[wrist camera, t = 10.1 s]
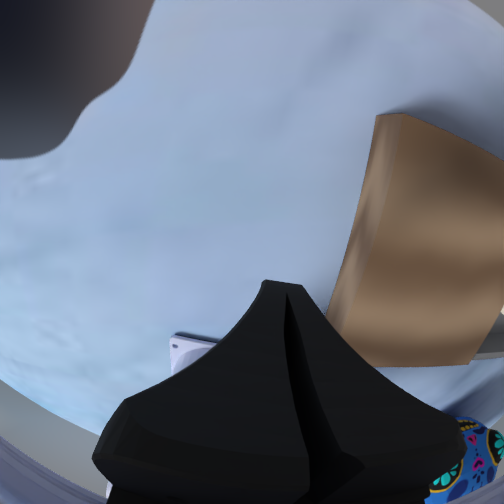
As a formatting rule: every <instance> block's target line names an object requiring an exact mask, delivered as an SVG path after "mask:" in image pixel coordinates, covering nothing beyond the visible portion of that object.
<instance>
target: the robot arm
mask: <svg viewBox="0 0 504 504" xmlns="http://www.w3.org/2000/svg"><path fill="white" fill-rule="evenodd" d="M175 344H176V345H175ZM170 356H171V369H172V374H171V377H169V378H168V379H166V380H164V381H162V382H161V383H159V384H157V385H154V386H152V387H150V388H148V389H146V390H144V391H142V392H140V393H137V394H135V395H133V396H131V397H128V398H126V399H124V400H123V402H122V403H121V404H120V406H119V407H118V408H117V410H116V411H115V412H114V414H113V415H112V417H111V418H110V420H109V421H108V423H107V424H106V426H105V428H104V430H103V432H102V434H101V436H100V438H99V441H98V443H97V445H96V448H95V450H94V452H93V455H92V460H93V462H94V464H95V466H96V467H97V469H98V470H99V471H100V472H101V473H102V474H103V475H104V476H105V477H106V479H108V485H107V492H106V498H105V497H103V496H100V495H98V494H96V493H94V492H92V491H89V490H87V489H85V488H83V487H81V486H79V485H77V484H75V483H73V482H71V481H69V480H67V479H65V478H64V477H62V476H60V475H58V474H57V473H55V472H53V471H51V470H49V469H48V468H46V467H44V466H43V465H41V464H40V463H38V462H36V461H35V460H34V459H32V458H31V457H29V456H28V455H26V454H25V453H23V452H22V451H20V450H19V449H17V448H16V447H15V446H13V445H12V444H11V443H9V442H8V441H7V440H6V439H4V438H3V437H2V436H0V504H425V500H424V499H426V498H428V497H430V494H431V493H430V488H429V484H431V483H432V482H434V481H435V480H437V479H438V478H440V477H441V476H442V475H444V474H445V473H447V472H448V471H449V470H451V469H452V468H453V467H454V466H456V465H457V464H458V463H459V462H460V461H461V460H462V459H463V458H464V456H465V454H466V452H467V449H468V447H467V445H466V442H465V439H464V437H463V434H462V431H461V429H460V426H459V424H458V421H457V419H456V418H454V417H452V416H450V415H448V414H446V413H444V412H442V411H439V410H437V409H435V408H433V407H431V406H429V405H427V404H426V403H424V402H422V401H420V400H419V399H417V398H415V397H414V396H412V395H411V394H409V393H407V392H406V391H404V390H403V389H401V388H400V387H398V386H397V385H395V384H394V383H393V382H391V381H390V380H389V379H387V378H386V377H385V376H383V375H382V374H381V373H380V372H378V371H377V370H376V369H375V368H373V367H372V366H371V365H370V364H369V363H368V362H366V361H365V360H364V359H363V358H362V357H361V356H360V355H359V354H358V353H357V352H356V351H355V350H354V349H353V348H352V347H351V346H350V345H349V344H348V343H347V342H346V341H345V340H344V339H343V338H342V337H341V335H340V334H339V333H338V332H337V331H336V330H335V329H334V327H333V326H332V325H331V324H330V323H329V321H328V320H327V319H326V317H325V316H324V315H323V314H322V312H321V311H320V310H319V308H318V307H317V305H316V304H315V303H314V301H313V300H312V298H311V297H310V296H309V294H308V293H307V291H306V290H305V288H304V287H303V286H302V285H299V284H292V283H285V282H279V281H272V280H264V281H263V282H262V284H261V288H260V290H259V293H258V294H257V296H256V298H255V300H254V301H253V303H252V304H251V306H250V307H249V309H248V310H247V312H246V313H245V314H244V315H243V317H242V318H241V319H240V320H239V321H238V323H237V324H236V325H235V326H234V327H233V328H232V329H231V331H230V332H229V333H228V334H227V335H226V336H225V337H224V338H223V339H221V340H220V341H219V342H218V343H212V342H206V341H201V340H196V339H191V338H186V337H182V336H177V335H172V336H171V338H170ZM445 504H504V475H503V476H501V477H500V478H498V479H496V480H494V481H493V482H491V483H489V484H487V485H485V486H483V487H481V488H479V489H477V490H475V491H473V492H471V493H469V494H467V495H464V496H462V497H460V498H457V499H455V500H453V501H450V502H448V503H445Z"/></svg>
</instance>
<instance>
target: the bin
mask: <svg viewBox="0 0 504 504" xmlns="http://www.w3.org/2000/svg"><path fill="white" fill-rule="evenodd" d="M501 357H504V315H503V314H502V313H501V312H500V313H499V315H498V317H497V319H496V321H495V323H494V324H493V326H492V328H491V330H490V331H489V333H488V335H487V336H486V338H485V340H484V341H483V343H482V345H481V346H480V348H479V349H478V351H477V352H476V354H475V355H474V357H473V358H472V360H481V359H492V358H501Z"/></svg>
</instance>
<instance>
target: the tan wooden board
mask: <svg viewBox="0 0 504 504" xmlns="http://www.w3.org/2000/svg"><path fill="white" fill-rule="evenodd" d="M503 306H504V161H503V160H501V159H499V158H498V157H496V156H494V155H492V154H491V153H489V152H487V151H485V150H483V149H482V148H480V147H478V146H476V145H474V144H472V143H470V142H468V141H466V140H464V139H462V138H460V137H458V136H456V135H454V134H452V133H450V132H448V131H445V130H443V129H441V128H439V127H436V126H434V125H432V124H429V123H427V122H424V121H422V120H419V119H417V118H414V117H412V116H409V115H406V114H404V113H400V114H388V115H377V116H376V121H375V127H374V132H373V138H372V143H371V149H370V154H369V159H368V164H367V168H366V173H365V178H364V182H363V187H362V191H361V195H360V199H359V204H358V208H357V212H356V216H355V220H354V223H353V227H352V231H351V235H350V238H349V242H348V245H347V249H346V252H345V256H344V259H343V263H342V266H341V269H340V273H339V276H338V279H337V282H336V285H335V288H334V291H333V295H332V298H331V301H330V304H329V307H328V309H327V312H326V315H325V317H326V319H327V320H328V321H329V323H330V324H331V325H332V326H333V327H334V329H335V330H336V331H337V332H338V333H339V334H340V335H341V337H342V338H343V339H344V340H345V341H346V342H347V343H348V344H349V345H350V346H351V347H352V348H353V349H354V350H355V351H356V352H357V353H358V354H359V355H360V356H361V357H362V358H363V359H364V360H365V361H366V362H368V363H369V364H370V365H371V366H372V367H433V366H453V365H467V364H469V363H470V361H471V360H472V358H473V357H474V355H475V354H476V352H477V351H478V349H479V348H480V346H481V345H482V343H483V341H484V340H485V338H486V336H487V335H488V333H489V331H490V330H491V328H492V326H493V324H494V323H495V321H496V319H497V317H498V315H499V313H500V312H501V310H502V308H503Z"/></svg>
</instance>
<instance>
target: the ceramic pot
mask: <svg viewBox="0 0 504 504" xmlns="http://www.w3.org/2000/svg"><path fill="white" fill-rule="evenodd" d="M455 418H456V419H457V421H458V424H459V426H460V429H461V431H462V434H463V437H464V439H465V442H466V445H467V447H468V449H467V452H466V454H465V456H464V458H463V459H462V460H461V461H460V462H459V463H458V464H457V465H456V466H454V467H453V468H452V469H451V470H449V471H448V472H447V473H445V474H444V475H442V476H441V477H440V478H438V479H437V480H435V481H434V482H432V483H431V484H429V488H430V493H431V494H430V497H428V498H426V499H424V500H425V504H445V503H448V502H450V501H453V500H455V499H457V498H460V497H462V496H464V495H467V494H469V493H471V492H473V491H475V490H477V489H479V488H481V487H483V486H485V485H487V484H489V483H491V482H493V480H494V478H495V475H496V471H497V467H498V463H499V462H500V460H501V459H502V457H503V455H504V437H503V436H502V434H501V433H500V432H498V431H496V430H492V429H488V428H487V427H486V426H484V425H483V424H481V423H480V422H478V421H476V420H474V419H472V418H470V417H455Z"/></svg>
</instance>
